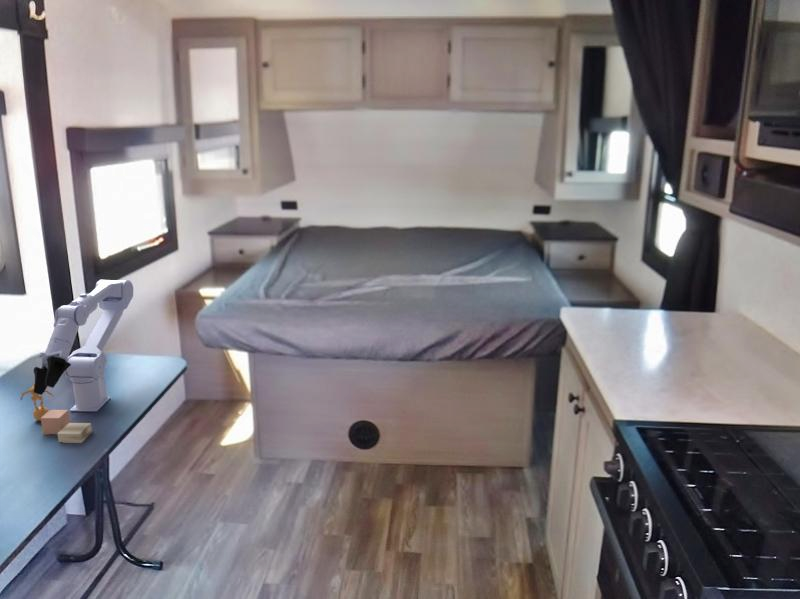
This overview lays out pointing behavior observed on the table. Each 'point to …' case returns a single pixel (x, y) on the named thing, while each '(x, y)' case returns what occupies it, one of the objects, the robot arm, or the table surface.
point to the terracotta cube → (54, 421)
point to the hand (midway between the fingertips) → (43, 389)
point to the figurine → (39, 410)
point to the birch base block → (74, 432)
